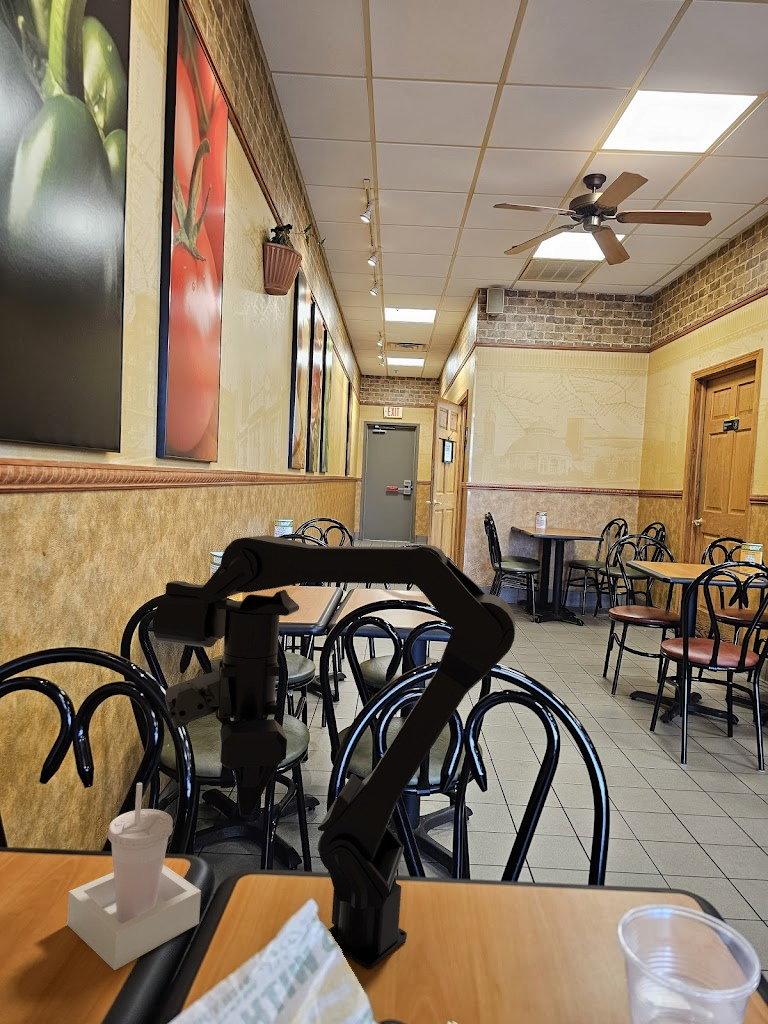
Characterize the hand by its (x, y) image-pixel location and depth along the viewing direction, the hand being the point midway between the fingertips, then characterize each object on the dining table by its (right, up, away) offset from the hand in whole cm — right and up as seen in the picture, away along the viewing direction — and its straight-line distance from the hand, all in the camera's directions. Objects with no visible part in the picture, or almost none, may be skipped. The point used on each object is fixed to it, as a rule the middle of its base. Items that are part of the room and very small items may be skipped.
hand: (242, 794), depth 70 cm
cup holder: (-11, -12, -3) cm, 17 cm away
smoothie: (-11, -12, -2) cm, 16 cm away
